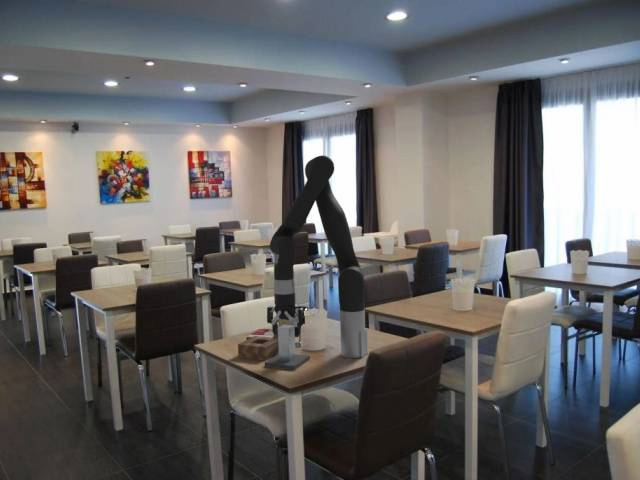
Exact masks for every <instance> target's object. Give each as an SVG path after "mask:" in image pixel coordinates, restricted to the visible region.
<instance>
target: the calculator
mask: <svg viewBox="0 0 640 480" xmlns="http://www.w3.org/2000/svg"><path fill="white" fill-rule="evenodd" d="M254 336H260V337H270V338H278V335H274V334H273V329H271V328H270V329H268V328H267V329H266V328H258V329H256V330H255V331H253V332H252V333H251V334H249V335H247V337H245V338H246V339H245V341H246V340H248V339H250V338H252V337H254Z"/></svg>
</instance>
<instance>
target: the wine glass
mask: <svg viewBox="0 0 640 480" xmlns="http://www.w3.org/2000/svg"><path fill="white" fill-rule="evenodd" d="M295 307H296V309H300V308H304V311H309V310H310V309H309V307H308V306H303V305H297V306H295ZM295 315H296V316H297V318H298V314H297V312H296V313H295ZM292 318H293V317H292ZM298 320H299V318H298ZM291 323H292V322H291ZM292 324H293V323H292ZM293 325H294V324H293ZM301 342H302V331H301V326H300V335H299V336H298V341H297V342H296V341H295V348H302V347H301Z"/></svg>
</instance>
